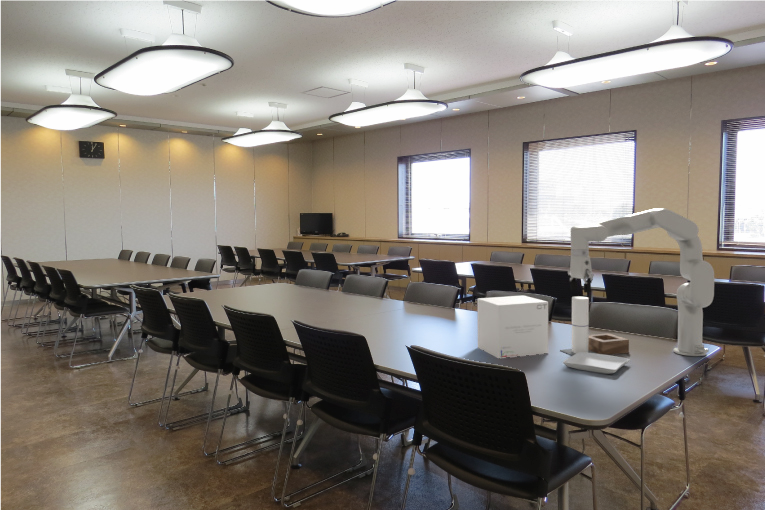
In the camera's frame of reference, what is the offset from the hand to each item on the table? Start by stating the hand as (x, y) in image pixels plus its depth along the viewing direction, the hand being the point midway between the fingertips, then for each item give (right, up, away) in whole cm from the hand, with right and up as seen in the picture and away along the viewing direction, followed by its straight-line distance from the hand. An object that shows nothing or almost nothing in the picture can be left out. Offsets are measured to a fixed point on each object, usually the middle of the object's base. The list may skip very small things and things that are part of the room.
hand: (580, 290), depth 237 cm
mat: (0, -29, +2) cm, 29 cm away
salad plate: (-1, -31, -20) cm, 37 cm away
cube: (-29, -29, +9) cm, 42 cm away
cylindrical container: (0, -28, +2) cm, 28 cm away
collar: (+14, -28, +6) cm, 32 cm away
